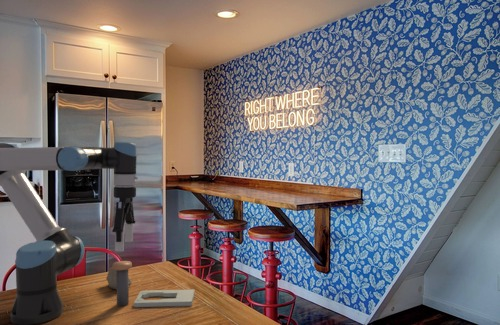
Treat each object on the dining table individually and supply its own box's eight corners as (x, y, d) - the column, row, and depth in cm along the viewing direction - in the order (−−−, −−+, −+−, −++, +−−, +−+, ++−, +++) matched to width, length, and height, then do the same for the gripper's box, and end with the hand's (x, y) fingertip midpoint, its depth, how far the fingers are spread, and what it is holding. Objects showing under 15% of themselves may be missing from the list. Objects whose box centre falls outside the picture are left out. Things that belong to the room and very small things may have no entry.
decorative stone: (114, 294, 148) (114, 273, 148) (105, 284, 160) (104, 264, 160) (136, 290, 153) (136, 269, 153) (125, 280, 165) (125, 261, 165)
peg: (110, 307, 135) (110, 266, 135) (116, 300, 142) (115, 261, 141) (129, 307, 136) (129, 265, 135) (134, 300, 142) (133, 260, 142)
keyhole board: (133, 307, 136) (133, 302, 136) (141, 294, 148) (141, 290, 148) (191, 305, 137) (191, 301, 137) (194, 293, 149) (194, 289, 149)
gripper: (127, 189, 126) (126, 255, 127) (142, 183, 151) (142, 238, 151) (103, 189, 125) (102, 255, 126) (122, 183, 150) (122, 238, 151)
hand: (124, 246), depth 139 cm, fingers open, 13 cm apart
